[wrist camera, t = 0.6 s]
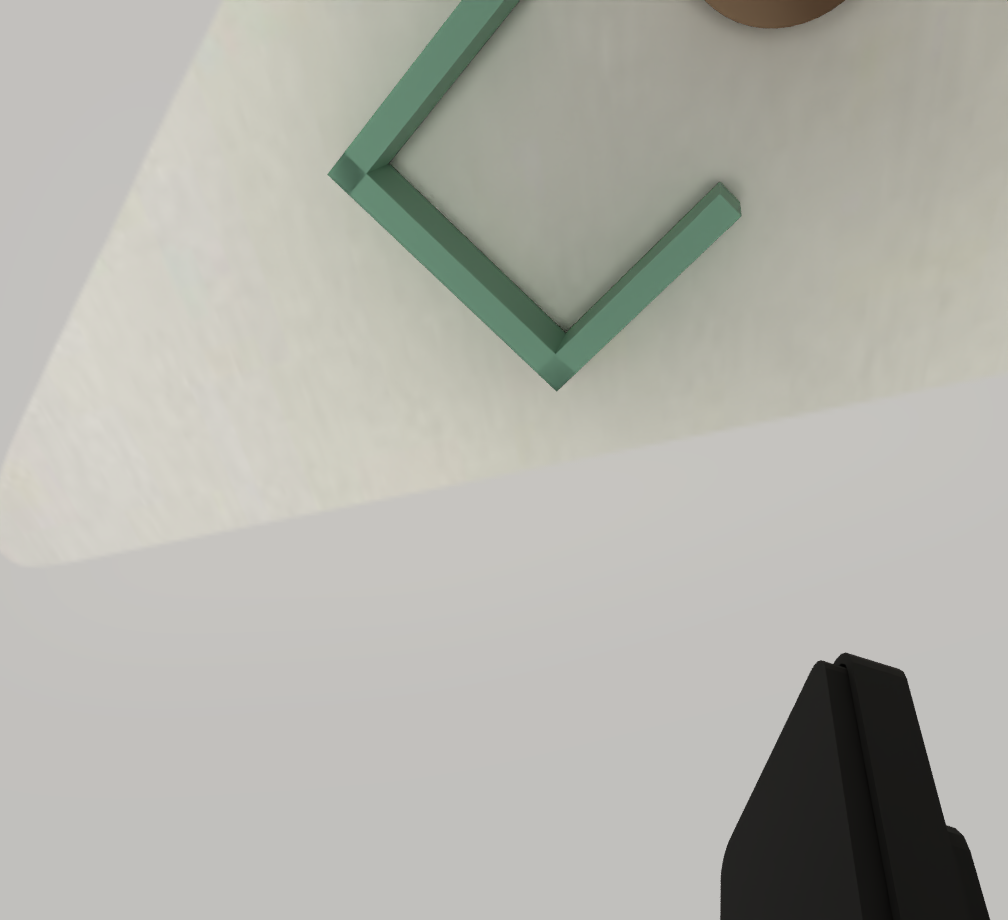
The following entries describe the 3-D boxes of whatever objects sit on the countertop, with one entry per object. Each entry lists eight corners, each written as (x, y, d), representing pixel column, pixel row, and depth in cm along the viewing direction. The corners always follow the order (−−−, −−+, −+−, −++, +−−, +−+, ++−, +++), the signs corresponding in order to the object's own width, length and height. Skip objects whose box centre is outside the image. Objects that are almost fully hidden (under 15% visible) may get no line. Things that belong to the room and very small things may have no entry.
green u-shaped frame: (508, -37, 31) (492, -40, 29) (739, 202, 33) (741, 215, 31) (352, 164, 35) (327, 174, 33) (566, 368, 37) (556, 391, 34)
